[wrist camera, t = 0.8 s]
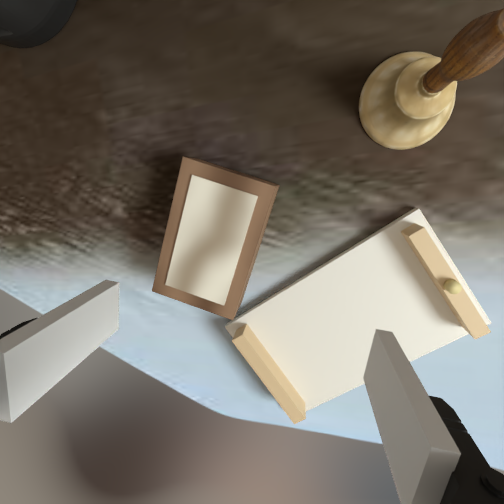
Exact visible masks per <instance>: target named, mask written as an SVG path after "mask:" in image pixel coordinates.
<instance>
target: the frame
mask: <svg viewBox="0 0 504 504" xmlns="http://www.w3.org/2000/svg"><path fill="white" fill-rule="evenodd" d="M278 188H279V185H278V184H275V183H272V182H269V181H265V180H262V179H259V178H256V177H253V176H250V175H247V174H244V173H241V172H238V171H234V170H231V169H228V168H225V167H222V166H219V165H216V164H213V163H210V162H207V161H203V160H200V159H195V158H189V157H183V159H182V163H181V167H180V171H179V176H178V180H177V184H176V189H175V193H174V197H173V202H172V206H171V210H170V215H169V219H168V223H167V228H166V232H165V236H164V241H163V245H162V249H161V254H160V258H159V262H158V267H157V271H156V275H155V280H154V284H153V288H152V291H153V292H156V293H159V294H161V295H164V296H167V297H170V298H173V299H175V300H178V301H181V302H184V303H186V304H189V305H192V306H195V307H198V308H200V309H203V310H206V311H209V312H211V313H214V314H217V315H220V316H223V317H225V318H228V319H231V320H233V319H234V317H235V315H236V313H237V311H238V309H239V307H240V305H241V303H242V300H243V297H244V293H245V290H246V287H247V284H248V281H249V278H250V275H251V272H252V269H253V266H254V263H255V259H256V256H257V253H258V250H259V247H260V244H261V241H262V238H263V235H264V232H265V229H266V226H267V222H268V219H269V216H270V213H271V210H272V207H273V204H274V201H275V198H276V195H277V192H278Z"/></svg>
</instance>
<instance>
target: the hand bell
mask: <svg viewBox="0 0 504 504" xmlns="http://www.w3.org/2000/svg"><path fill="white" fill-rule="evenodd" d="M503 57H504V9H501V10H498V11H493V12H490V13H487V14H485V15H482V16H480V17H478V18H476V19H474V20H473V21H472V22H470V23H469V24H468V25H467V26H465V27H464V28H463V29H462V30H461V31H460V32H459V33H458V34H457V35H456V36H455V37H454V38H453V39H452V40H451V42H450V43H449V45H448V46H447V48H446V50H445V51H444V53H443V56H442V58H439V57H435V56H433V55H431V54H428V53H424V52H405V53H400V54H397V55H395V56H392V57H390V58H389V59H387V60H385V61H384V62H382V63H381V64H380V65H379V66H378V67H377V68H376V69H375V70H374V71H373V72H372V73H371V74H370V76H369V77H368V79H367V81H366V82H365V84H364V86H363V89H362V91H361V95H360V99H359V115H360V120H361V123H362V126H363V128H364V130H365V131H366V133H367V134H368V135H369V136H370V138H371V139H372V140H374V141H375V142H376V143H378V144H380V145H382V146H384V147H387V148H390V149H399V150H402V149H410V148H414V147H417V146H419V145H422V144H424V143H426V142H427V141H429V140H430V139H432V138H433V137H434V136H436V135H437V134H438V133H439V132H440V131H441V129H442V128H443V127H444V126H445V124H446V122H447V121H448V119H449V117H450V115H451V113H452V110H453V107H454V103H455V92H456V87H457V81H463V80H467V79H470V78H473V77H476V76H478V75H480V74H482V73H484V72H485V71H487V70H489V69H490V68H491V67H493V66H494V65H495V64H497V63H498V62H499V61H500V60H501V59H502V58H503Z"/></svg>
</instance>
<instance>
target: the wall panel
mask: <svg viewBox="0 0 504 504" xmlns="http://www.w3.org/2000/svg"><path fill="white" fill-rule="evenodd" d="M489 324H491V321H490V320H489V318H488V317H487V315H486V314H485V312H484V310H483V309H482V307H481V306H480V304H479V303H478V301H477V299H476V298H475V296H474V295H473V293H472V291H471V290H470V288H469V287H468V285H467V284H466V282H465V280H464V279H463V277H462V276H461V274H460V272H459V271H458V269H457V268H456V266H455V265H454V263H453V261H452V260H451V258H450V257H449V255H448V254H447V252H446V250H445V249H444V247H443V246H442V244H441V242H440V241H439V239H438V238H437V236H436V235H435V233H434V231H433V230H432V228H431V227H430V225H429V223H428V222H427V220H426V219H425V217H424V216H423V214H422V212H421V211H420V209H419V208H414V209H412V210H411V211H409V212H408V213H406V214H404V215H403V216H401V217H399V218H398V219H396V220H394V221H393V222H391V223H390V224H388V225H386V226H385V227H383V228H381V229H380V230H378V231H377V232H375V233H373V234H372V235H370V236H368V237H367V238H365V239H363V240H362V241H360V242H359V243H357V244H355V245H354V246H352V247H350V248H349V249H347V250H346V251H344V252H342V253H341V254H339V255H337V256H336V257H334V258H332V259H331V260H329V261H328V262H326V263H324V264H323V265H321V266H319V267H318V268H316V269H314V270H313V271H311V272H310V273H308V274H306V275H305V276H303V277H301V278H300V279H298V280H297V281H295V282H293V283H292V284H290V285H288V286H287V287H285V288H283V289H282V290H280V291H279V292H277V293H275V294H274V295H272V296H270V297H269V298H267V299H265V300H264V301H262V302H261V303H259V304H257V305H256V306H254V307H252V308H251V309H249V310H248V311H246V312H244V313H243V314H241V315H239V316H238V317H236V318H234V319H233V320H231V321H230V322H228V323H227V324H226V326H225V328H226V330H227V331H228V332H229V334H230V335H231V336H232V338H233V339H232V342H233V343H234V345H235V346H236V347H237V349H238V350H239V351H240V353H241V354H242V355H243V357H244V358H245V359H246V361H247V362H248V363H249V365H250V366H251V367H252V368H253V370H254V371H255V372H256V374H257V375H258V376H259V378H260V379H261V380H262V382H263V383H264V384H265V386H266V387H267V388H268V390H269V391H270V392H271V394H272V395H273V396H274V398H275V399H276V400H277V402H278V403H279V404H280V406H281V407H282V408H283V410H284V411H285V412H286V414H287V415H288V416H289V418H290V419H291V420H292V422H293V423H294V424H296V423H298V422H300V421H302V420H304V419H306V411H308V410H310V409H312V408H314V407H316V406H318V405H320V404H323V403H325V402H327V401H329V400H331V399H333V398H335V397H337V396H339V395H341V394H344V393H346V392H348V391H350V390H352V389H354V388H356V387H358V386H360V385H362V384H365V382H364V379H363V376H364V373H365V369H366V365H367V361H368V357H369V353H370V349H371V346H372V342H373V338H374V334H375V330H376V329H380V330H385V331H391V332H393V334H394V336H395V337H396V339H397V341H398V343H399V344H400V346H401V348H402V350H403V352H404V353H405V355H406V357H407V359H408V360H409V362H411V361H413V360H415V359H417V358H419V357H421V356H423V355H426V354H428V353H430V352H432V351H434V350H436V349H438V348H440V347H442V346H445V345H447V344H449V343H451V342H453V341H455V340H457V339H459V338H461V337H463V336H466V335H468V334H470V335H471V336H472V337H473V338H474V339H477V338H479V337H482V336H484V335H486V334H488V333H490V332H491V331H490V330H489V328H488V327H487V325H489Z"/></svg>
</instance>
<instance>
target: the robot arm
mask: <svg viewBox="0 0 504 504" xmlns="http://www.w3.org/2000/svg"><path fill="white" fill-rule="evenodd" d="M76 2H77V0H0V43H2V44H4V45H7V46H11V47H17V48H28V47H33V46H37V45H40V44H42V43H44V42H46V41H48V40H50V39H51V38H52V37H54V36H55V35H56V34H57V33H58V32H59V31H60V30H61V29H62V28H63V26H64V25H65V24H66V22H67V21H68V19H69V18H70V16H71V14H72V12H73V10H74V7H75V5H76ZM118 329H119V282H114V281H109V280H105V281H103V282H101V283H99V284H97V285H96V286H94V287H92V288H90V289H89V290H87V291H85V292H83V293H82V294H80V295H78V296H76V297H74V298H73V299H71V300H69V301H67V302H66V303H64V304H62V305H60V306H58V307H57V308H55V309H53V310H51V311H50V312H48V313H46V314H44V315H42V316H41V317H39V318H35V319H32V320H29V321H26V322H23V323H21V324H19V325H17V326H15V327H13V328H12V329H11V330H8V331H6V332H4V333H3V334H1V336H0V420H1V421H5V422H9V423H12V422H13V421H14V420H15V419H16V418H17V417H18V416H20V415H21V414H22V413H23V412H24V411H25V410H27V409H28V408H29V407H30V406H31V405H32V404H33V403H35V402H36V401H37V400H38V399H39V398H40V397H42V396H43V395H44V394H45V393H46V392H47V391H48V390H50V389H51V388H52V387H53V386H54V385H55V384H56V383H58V382H59V381H60V380H61V379H62V378H63V377H64V376H66V375H67V374H68V373H69V372H70V371H71V370H72V369H74V368H75V367H76V366H77V365H78V364H79V363H80V362H82V361H83V360H84V359H85V358H86V357H87V356H89V355H90V354H91V353H92V352H93V351H94V350H95V349H97V348H98V347H99V346H100V345H101V344H102V343H103V342H105V341H106V340H107V339H108V338H109V337H110V336H111V335H113V334H114V333H115V332H116V331H117V330H118ZM363 379H364V382H365V385H366V389H367V392H368V396H369V399H370V402H371V406H372V409H373V412H374V416H375V419H376V422H377V426H378V429H379V432H380V436H381V439H382V442H383V446H384V449H385V452H386V456H387V459H388V462H389V466H390V469H391V472H392V476H393V479H394V482H395V486H396V489H397V493H398V496H399V499H400V502H401V504H504V475H503V474H502V473H500V472H498V471H496V470H494V469H492V468H491V467H490V466H489V464H488V463H487V461H486V460H485V458H484V456H483V455H482V453H481V452H480V450H479V449H478V447H477V445H476V444H475V442H474V441H473V439H472V438H471V436H470V434H468V433H467V430H466V428H465V427H464V425H463V424H461V420H460V419H459V417H458V416H457V414H456V412H455V411H454V409H452V408H451V407H450V406H449V405H448V404H447V403H446V402H445V401H444V400H443V399H442V398H438V397H433V396H428V394H427V392H426V390H425V389H424V387H423V385H422V383H421V382H420V380H419V378H418V376H417V375H416V373H415V371H414V369H413V367H412V366H411V364H410V362H409V360H408V359H407V357H406V355H405V353H404V352H403V350H402V348H401V346H400V344H399V343H398V341H397V339H396V337H395V336H394V334H393V332H391V331H385V330H380V329H376V330H375V334H374V338H373V342H372V346H371V349H370V353H369V357H368V361H367V365H366V369H365V373H364V376H363Z"/></svg>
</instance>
